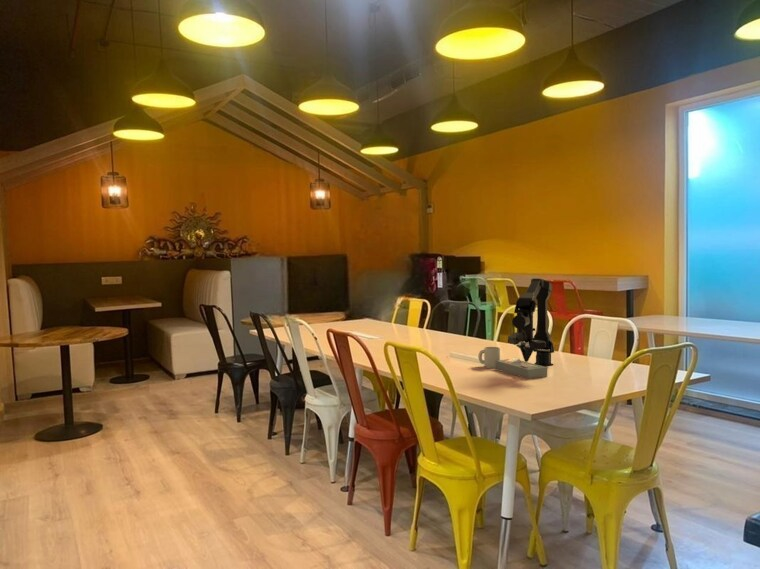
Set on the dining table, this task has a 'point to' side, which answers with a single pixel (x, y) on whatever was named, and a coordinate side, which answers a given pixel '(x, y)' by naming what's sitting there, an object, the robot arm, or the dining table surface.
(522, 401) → the dining table surface
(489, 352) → the cup
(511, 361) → the rocker
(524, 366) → the rocker
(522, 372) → the grey rocker switch panel
